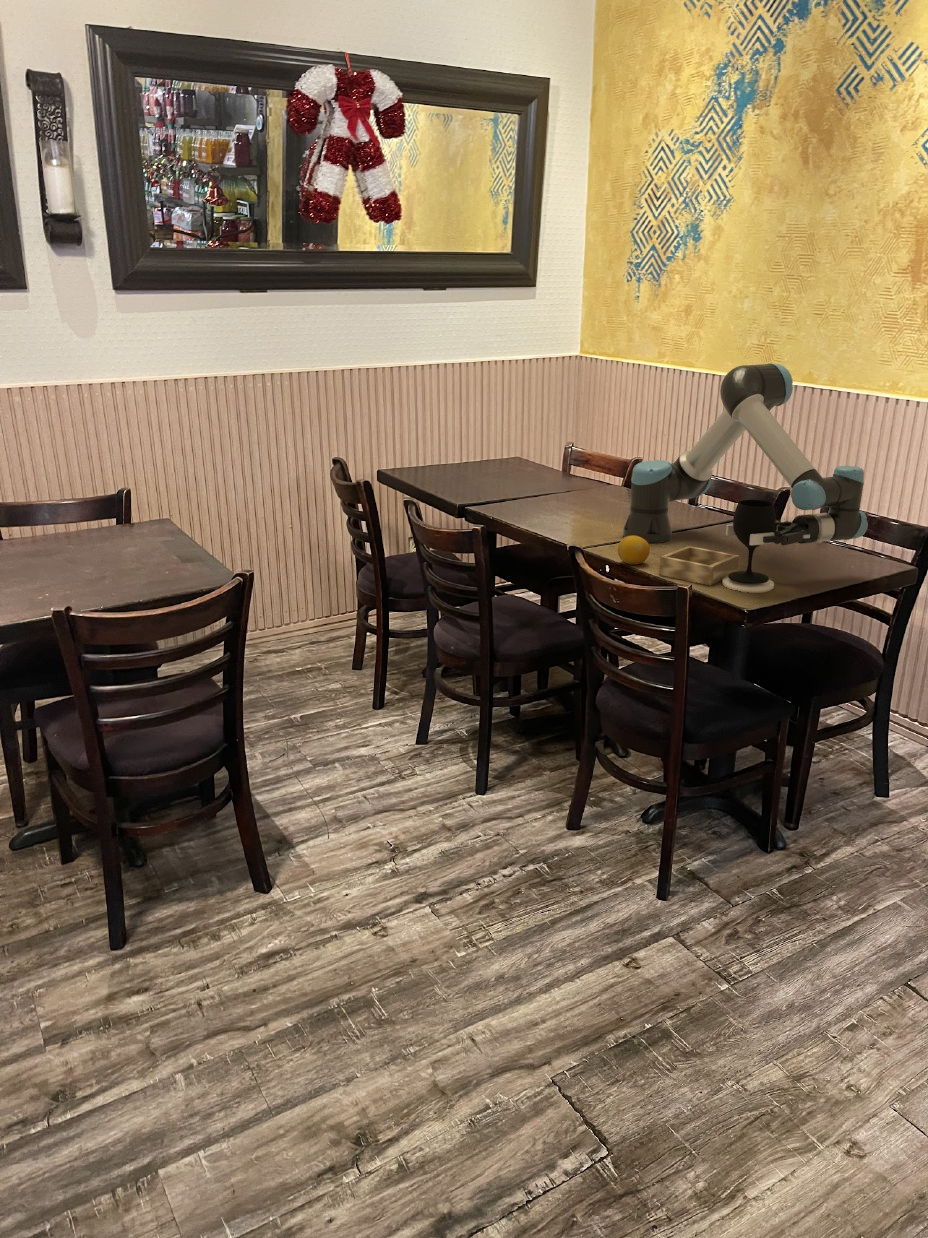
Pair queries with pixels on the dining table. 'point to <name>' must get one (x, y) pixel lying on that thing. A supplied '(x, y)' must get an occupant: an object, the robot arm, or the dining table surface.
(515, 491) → the dining table surface
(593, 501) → the dining table surface
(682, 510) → the dining table surface
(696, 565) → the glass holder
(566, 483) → the dining table surface
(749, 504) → the wine glass
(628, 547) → the fruit
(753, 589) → the plate
